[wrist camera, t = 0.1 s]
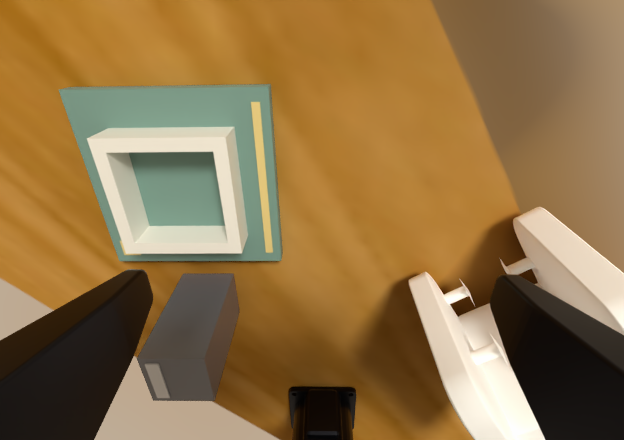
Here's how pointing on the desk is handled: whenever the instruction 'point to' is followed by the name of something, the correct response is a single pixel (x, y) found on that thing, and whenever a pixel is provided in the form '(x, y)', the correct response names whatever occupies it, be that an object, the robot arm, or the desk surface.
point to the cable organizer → (484, 334)
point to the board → (188, 159)
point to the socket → (127, 199)
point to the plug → (191, 339)
